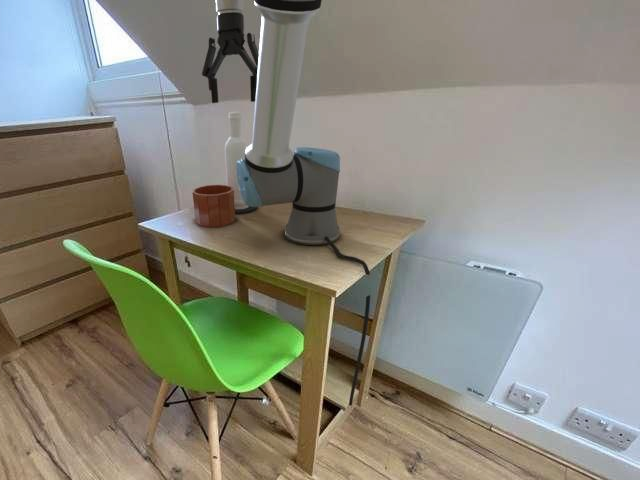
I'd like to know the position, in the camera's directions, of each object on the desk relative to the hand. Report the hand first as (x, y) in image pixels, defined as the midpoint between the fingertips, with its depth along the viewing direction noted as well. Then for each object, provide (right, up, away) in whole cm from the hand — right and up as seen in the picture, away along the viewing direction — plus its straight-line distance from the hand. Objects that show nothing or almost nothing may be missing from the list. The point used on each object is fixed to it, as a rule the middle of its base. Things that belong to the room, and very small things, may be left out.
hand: (234, 102), depth 105 cm
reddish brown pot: (-6, -35, +8) cm, 36 cm away
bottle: (+1, -28, +18) cm, 33 cm away
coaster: (+1, -28, +18) cm, 33 cm away
